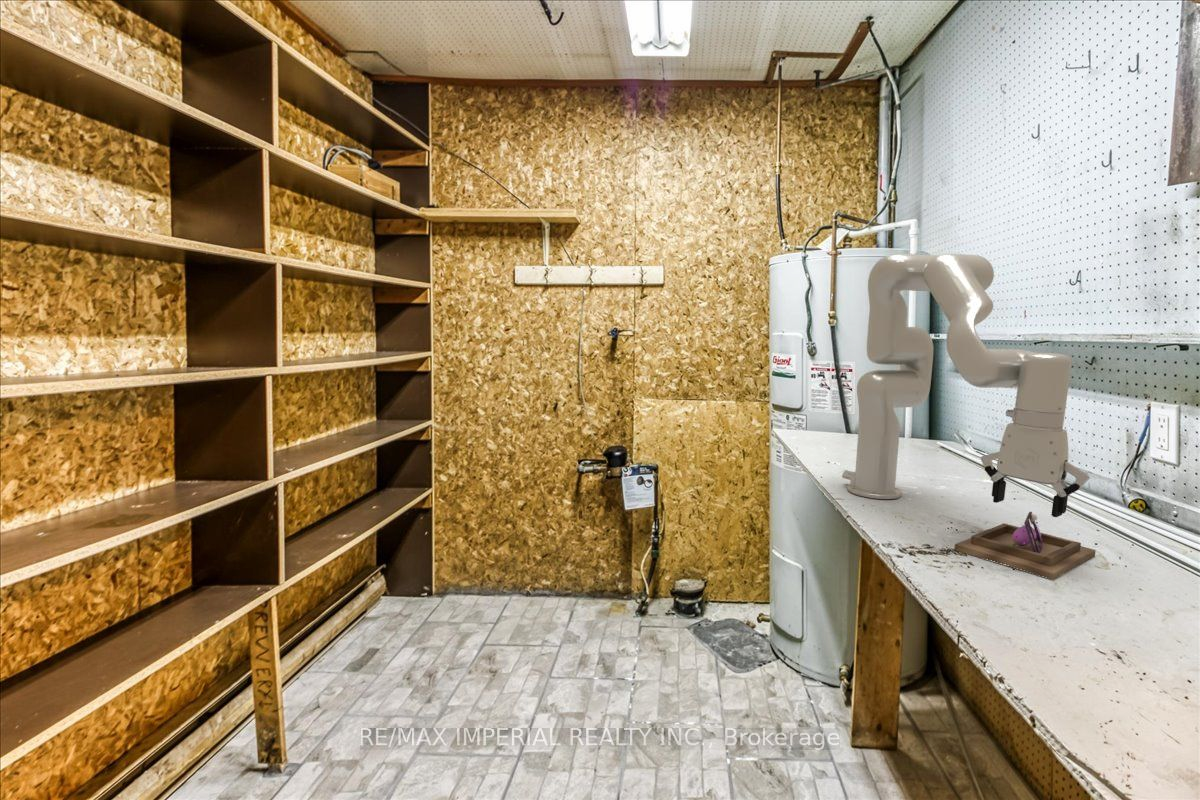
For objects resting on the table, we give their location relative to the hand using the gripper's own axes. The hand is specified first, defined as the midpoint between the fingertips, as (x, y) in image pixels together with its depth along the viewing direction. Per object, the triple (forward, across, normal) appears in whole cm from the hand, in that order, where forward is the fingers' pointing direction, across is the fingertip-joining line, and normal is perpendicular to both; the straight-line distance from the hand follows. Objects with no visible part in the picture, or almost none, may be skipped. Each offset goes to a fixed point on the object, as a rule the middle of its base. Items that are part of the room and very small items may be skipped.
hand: (1026, 508), depth 113 cm
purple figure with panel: (+8, +1, -2) cm, 8 cm away
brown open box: (+9, +1, 0) cm, 9 cm away
